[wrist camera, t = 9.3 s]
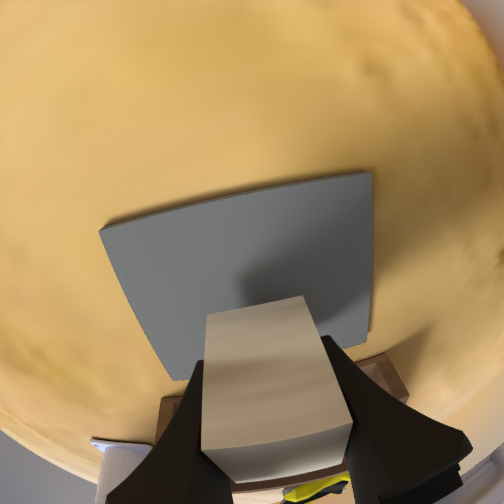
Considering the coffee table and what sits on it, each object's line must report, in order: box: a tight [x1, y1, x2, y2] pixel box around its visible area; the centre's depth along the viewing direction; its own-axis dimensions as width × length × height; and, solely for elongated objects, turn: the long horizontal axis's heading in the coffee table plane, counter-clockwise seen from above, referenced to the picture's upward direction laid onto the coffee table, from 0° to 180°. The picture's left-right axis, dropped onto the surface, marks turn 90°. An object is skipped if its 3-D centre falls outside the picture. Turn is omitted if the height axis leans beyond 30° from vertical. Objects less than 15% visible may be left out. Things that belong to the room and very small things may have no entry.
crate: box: [155, 353, 409, 494], centre depth 18 cm, size 15×16×4 cm
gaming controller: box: [280, 472, 351, 504], centre depth 26 cm, size 15×6×10 cm
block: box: [201, 295, 353, 483], centre depth 9 cm, size 4×4×6 cm
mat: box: [98, 171, 373, 381], centre depth 13 cm, size 10×12×1 cm
